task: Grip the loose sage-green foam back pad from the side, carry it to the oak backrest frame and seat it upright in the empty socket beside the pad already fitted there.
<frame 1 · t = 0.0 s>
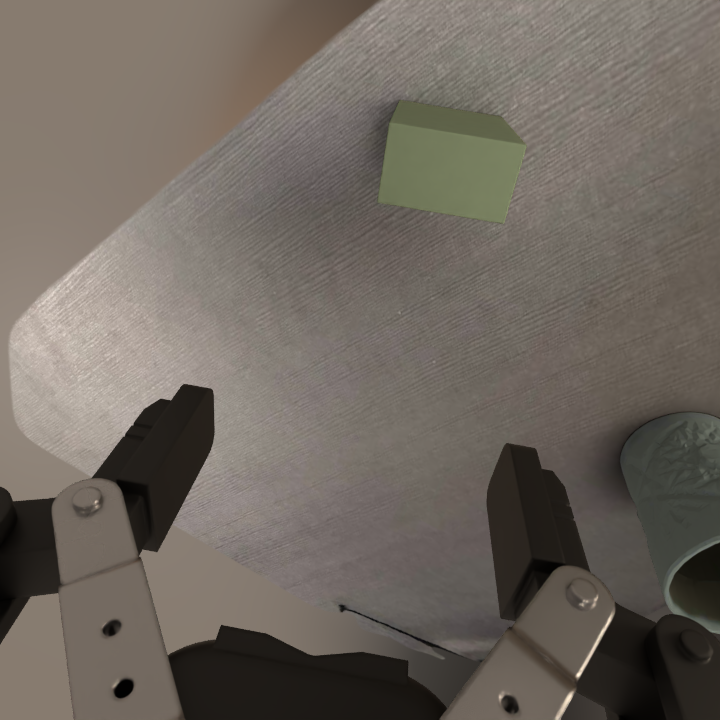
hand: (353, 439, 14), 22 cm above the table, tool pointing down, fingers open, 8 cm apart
grey green embossed cup: (674, 449, 41), on the table
back pad: (443, 140, 30), on the table
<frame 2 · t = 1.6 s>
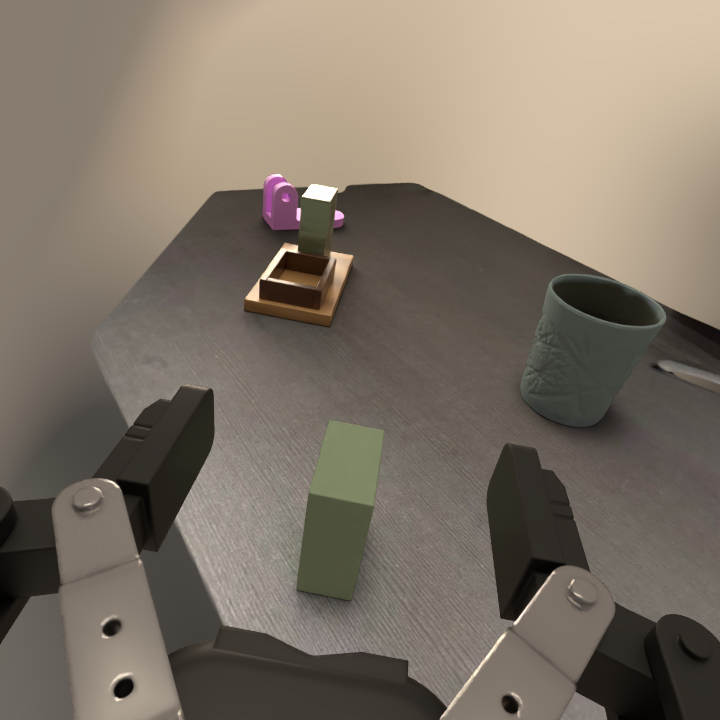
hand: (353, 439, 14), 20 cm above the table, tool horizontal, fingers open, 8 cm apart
grey green embossed cup: (558, 401, 53), on the table
back pad: (332, 554, 34), on the table
bracket: (305, 223, 85), on the table
backrest frame: (297, 297, 63), on the table
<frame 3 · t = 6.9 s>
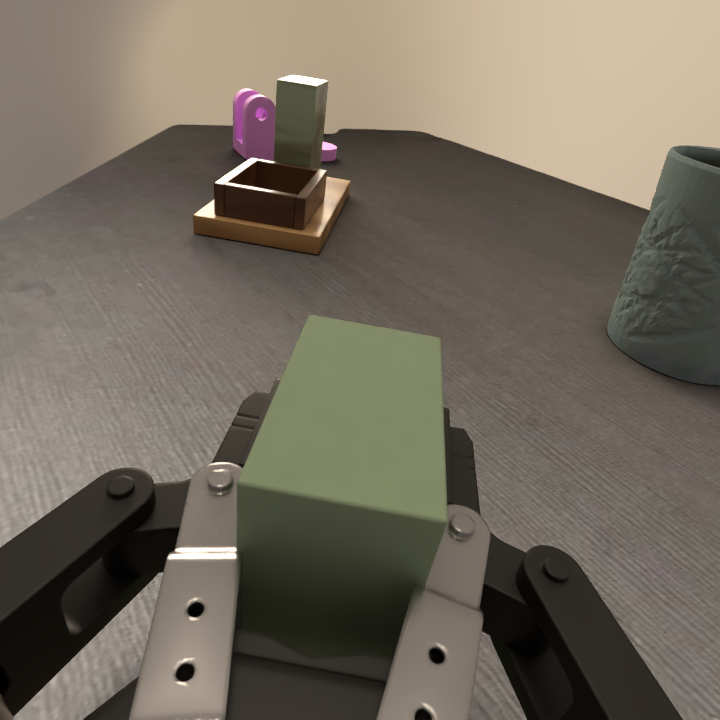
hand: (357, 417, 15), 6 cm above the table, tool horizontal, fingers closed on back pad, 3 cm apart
grey green embossed cup: (667, 351, 35), on the table
back pad: (321, 625, 16), on the table, touching gripper
bracket: (288, 156, 67), on the table
backrest frame: (273, 222, 45), on the table
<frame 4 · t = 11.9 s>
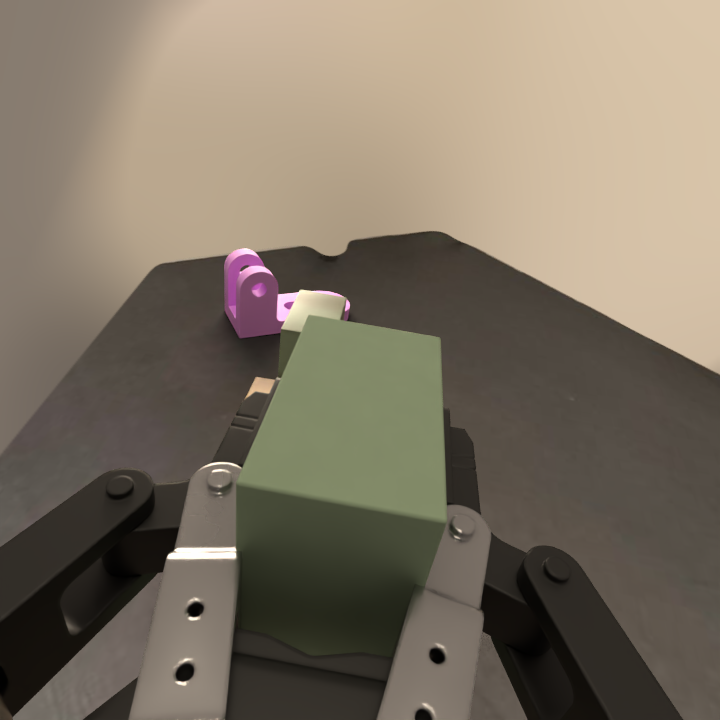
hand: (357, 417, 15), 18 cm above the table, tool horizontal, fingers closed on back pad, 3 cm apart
back pad: (321, 625, 16), point 12 cm above the table, touching gripper
bracket: (291, 318, 55), on the table
backrest frame: (277, 516, 33), on the table
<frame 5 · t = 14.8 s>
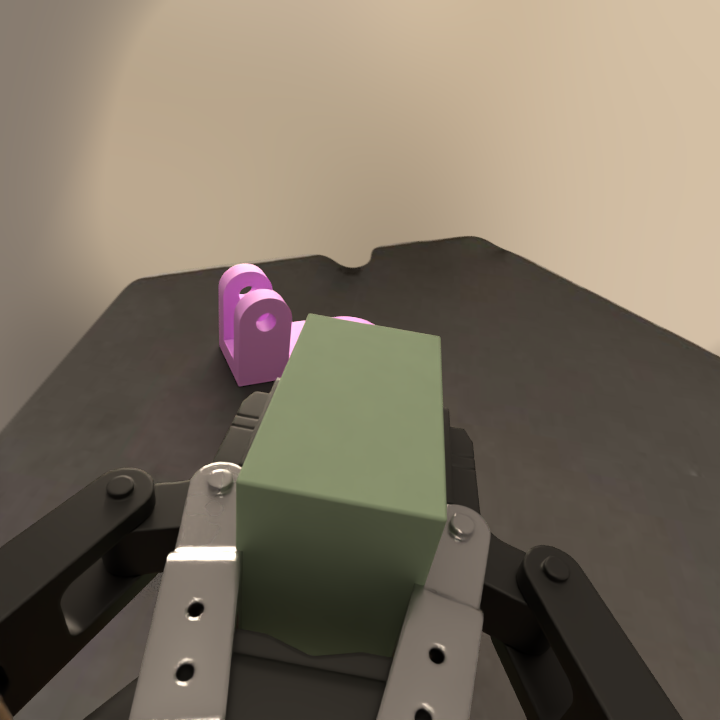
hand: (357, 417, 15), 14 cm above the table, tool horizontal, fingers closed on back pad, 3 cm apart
back pad: (321, 624, 16), point 8 cm above the table, touching gripper
bracket: (307, 355, 42), on the table
when the fingers open (7 cm above the table, at t = 16.8 s): back pad stays where it is, resting on backrest frame.
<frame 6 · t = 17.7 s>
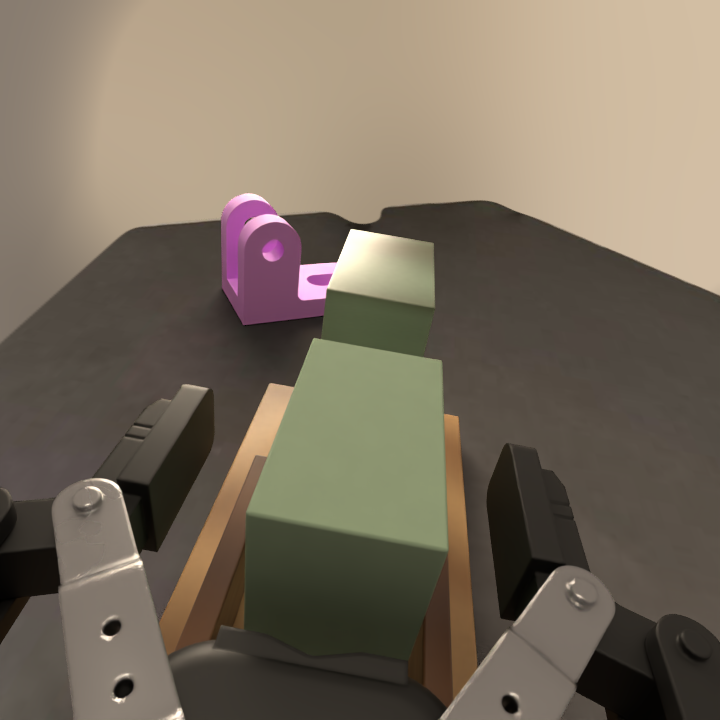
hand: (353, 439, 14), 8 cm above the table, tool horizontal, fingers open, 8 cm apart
back pad: (325, 638, 16), point 1 cm above the table, touching backrest frame
bracket: (317, 299, 39), on the table
backrest frame: (316, 661, 17), on the table
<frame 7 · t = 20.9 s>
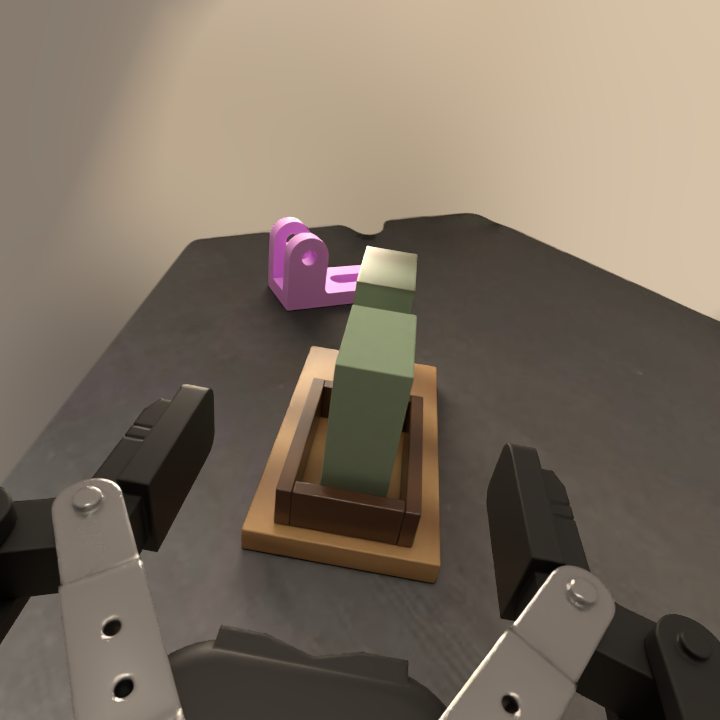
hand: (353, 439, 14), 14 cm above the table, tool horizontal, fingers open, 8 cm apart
back pad: (356, 469, 30), point 1 cm above the table, touching backrest frame
bracket: (337, 293, 53), on the table
backrest frame: (351, 486, 31), on the table
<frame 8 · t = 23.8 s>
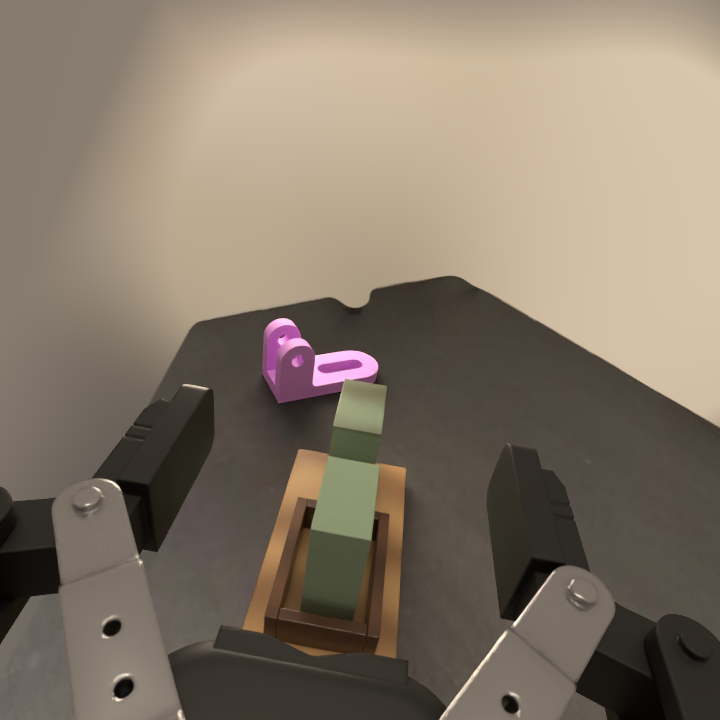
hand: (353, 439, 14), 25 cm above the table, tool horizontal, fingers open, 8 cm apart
back pad: (332, 581, 36), point 1 cm above the table, touching backrest frame
bracket: (324, 379, 59), on the table
backrest frame: (328, 593, 37), on the table
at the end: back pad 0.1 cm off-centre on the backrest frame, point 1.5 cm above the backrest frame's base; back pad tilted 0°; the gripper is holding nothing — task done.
